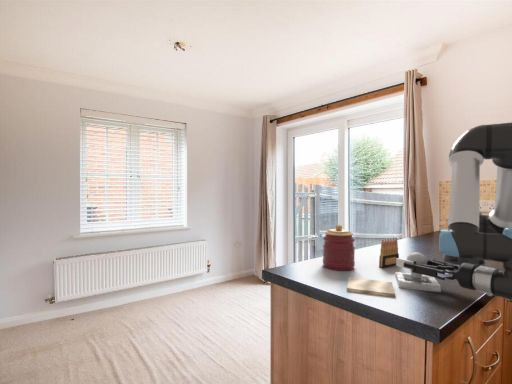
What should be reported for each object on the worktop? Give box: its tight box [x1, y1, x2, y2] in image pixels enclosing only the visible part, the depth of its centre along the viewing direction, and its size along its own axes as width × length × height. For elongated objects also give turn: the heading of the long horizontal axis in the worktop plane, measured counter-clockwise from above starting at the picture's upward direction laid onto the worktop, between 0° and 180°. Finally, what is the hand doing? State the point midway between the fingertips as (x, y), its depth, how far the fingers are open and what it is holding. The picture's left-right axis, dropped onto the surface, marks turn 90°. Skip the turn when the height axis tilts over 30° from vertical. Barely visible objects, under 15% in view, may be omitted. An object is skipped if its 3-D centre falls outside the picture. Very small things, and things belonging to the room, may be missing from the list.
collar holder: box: [394, 271, 442, 293], centre depth 100 cm, size 12×12×2 cm
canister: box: [322, 224, 356, 271], centre depth 121 cm, size 13×13×18 cm
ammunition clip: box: [378, 237, 400, 269], centre depth 123 cm, size 11×2×12 cm, turn 120°
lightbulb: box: [406, 251, 428, 282], centre depth 100 cm, size 6×6×11 cm
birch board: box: [346, 276, 396, 298], centre depth 96 cm, size 14×12×1 cm
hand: (402, 260), depth 104 cm, fingers closed on lightbulb, 6 cm apart
